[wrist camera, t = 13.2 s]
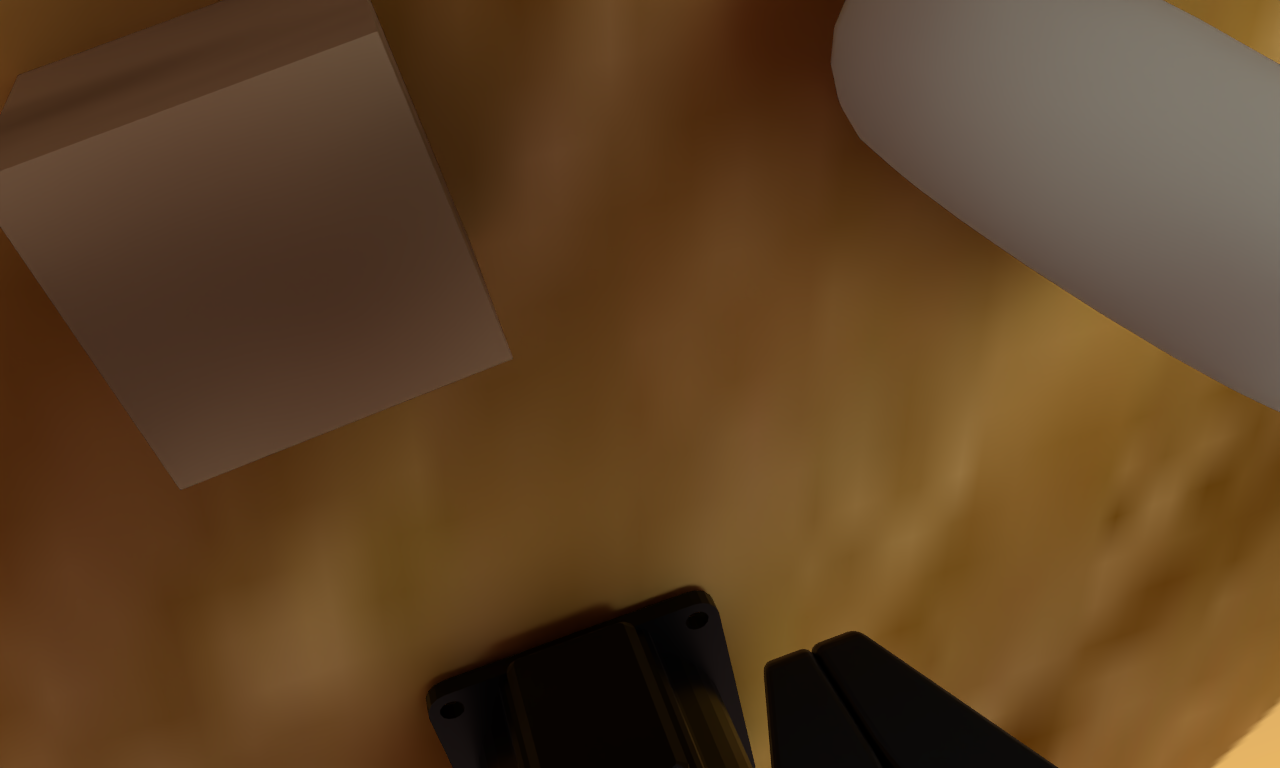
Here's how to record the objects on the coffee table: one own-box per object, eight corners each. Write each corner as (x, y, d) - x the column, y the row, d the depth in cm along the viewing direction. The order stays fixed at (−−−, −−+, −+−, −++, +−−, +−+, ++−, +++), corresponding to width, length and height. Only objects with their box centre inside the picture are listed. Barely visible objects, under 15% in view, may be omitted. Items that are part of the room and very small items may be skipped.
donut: (1205, 97, 23) (1733, 365, 15) (1092, 247, 24) (1523, 571, 16) (811, -180, 18) (1275, -6, 10) (693, 25, 19) (1024, 328, 11)
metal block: (469, 238, 20) (513, 358, 17) (188, 346, 20) (179, 490, 17) (350, -50, 17) (377, 30, 14) (19, 72, 17) (-31, 182, 14)
